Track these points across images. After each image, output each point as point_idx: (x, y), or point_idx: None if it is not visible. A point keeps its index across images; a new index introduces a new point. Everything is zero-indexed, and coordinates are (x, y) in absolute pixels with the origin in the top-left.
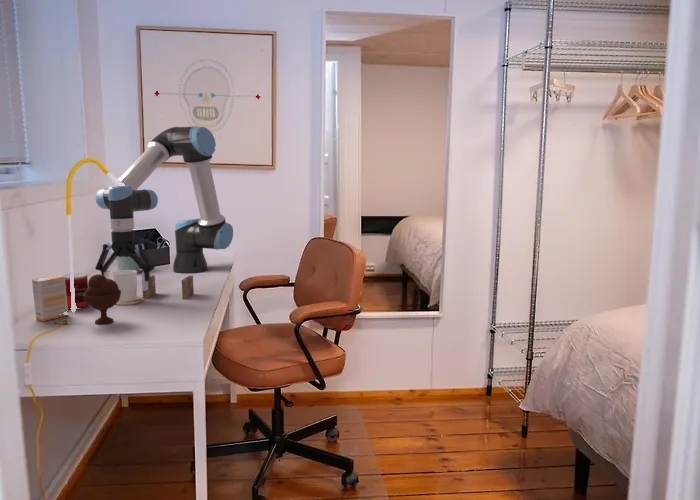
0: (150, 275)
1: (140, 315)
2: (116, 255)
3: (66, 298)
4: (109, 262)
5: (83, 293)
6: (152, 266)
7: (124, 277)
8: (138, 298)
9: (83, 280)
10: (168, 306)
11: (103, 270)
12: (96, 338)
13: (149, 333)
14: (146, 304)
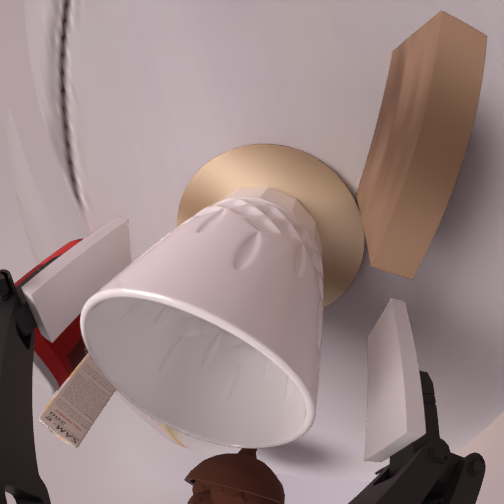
0: (444, 30)
1: (345, 418)
2: (17, 489)
3: (110, 397)
4: (27, 419)
5: (188, 482)
6: (460, 490)
7: (227, 422)
8: (331, 232)
9: (65, 378)
10: (451, 361)
11: (31, 340)
12: (269, 466)
13: (355, 471)
14: (376, 321)
